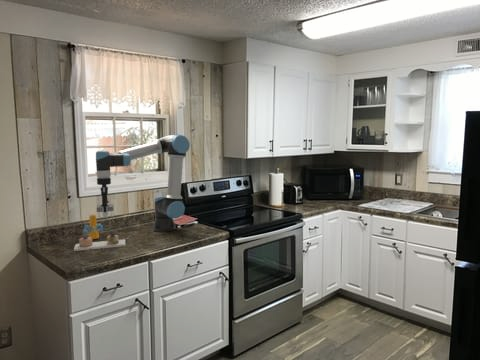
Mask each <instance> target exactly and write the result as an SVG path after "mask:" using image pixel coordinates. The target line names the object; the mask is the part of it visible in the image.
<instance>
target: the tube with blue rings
mask: <svg viewBox="0 0 480 360" xmlns="http://www.w3.org/2000/svg"><path fill="white" fill-rule="evenodd" d="M88 217H89V218H88V219H89V225H88V224H86V225H84V227H83V230H87V232H88V237H91V238H92V240H97V239H99V238H100V233H99V232H102V231H103V230H104V226H103V225H102V224H101V223H97V214H90V215H88Z"/></svg>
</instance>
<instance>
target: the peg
mask: <svg viewBox="0 0 480 360" xmlns="http://www.w3.org/2000/svg"><path fill="white" fill-rule="evenodd" d="M87 230H88V229H86V230H84V229H83V230H82V237H81V238H78V242H79V243H78V244H79V246H80V247H89V246H92V242H93V239H92V238H91V237H89V233H88V232H89V231H88V232H87Z"/></svg>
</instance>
